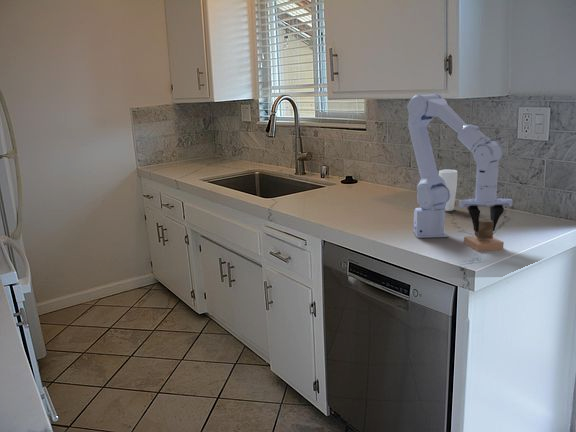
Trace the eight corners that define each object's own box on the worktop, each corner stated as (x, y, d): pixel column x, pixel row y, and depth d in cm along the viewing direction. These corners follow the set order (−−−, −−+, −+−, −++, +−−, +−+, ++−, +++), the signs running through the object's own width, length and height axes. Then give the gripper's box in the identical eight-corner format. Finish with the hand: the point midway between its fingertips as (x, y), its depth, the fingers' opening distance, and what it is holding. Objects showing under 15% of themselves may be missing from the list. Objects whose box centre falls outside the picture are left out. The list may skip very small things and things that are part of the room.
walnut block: (478, 238, 150) (479, 222, 149) (474, 234, 154) (475, 218, 152) (492, 238, 150) (493, 221, 148) (488, 234, 153) (489, 218, 152)
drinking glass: (452, 207, 199) (454, 168, 195) (458, 211, 193) (460, 171, 189) (435, 208, 199) (436, 169, 195) (440, 212, 192) (442, 172, 189)
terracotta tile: (477, 252, 148) (477, 244, 147) (463, 244, 156) (464, 236, 155) (503, 250, 149) (503, 242, 148) (488, 242, 157) (488, 234, 156)
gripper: (464, 188, 144) (462, 234, 148) (517, 186, 143) (514, 233, 147) (457, 183, 151) (456, 228, 155) (508, 182, 150) (505, 227, 154)
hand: (483, 230), depth 151 cm, fingers closed on walnut block, 4 cm apart
